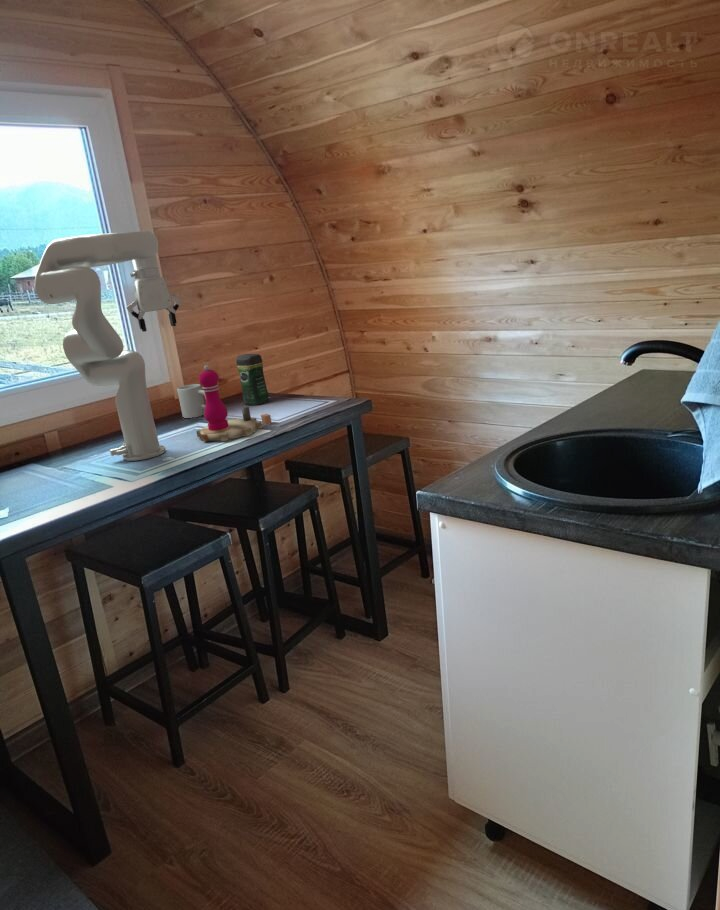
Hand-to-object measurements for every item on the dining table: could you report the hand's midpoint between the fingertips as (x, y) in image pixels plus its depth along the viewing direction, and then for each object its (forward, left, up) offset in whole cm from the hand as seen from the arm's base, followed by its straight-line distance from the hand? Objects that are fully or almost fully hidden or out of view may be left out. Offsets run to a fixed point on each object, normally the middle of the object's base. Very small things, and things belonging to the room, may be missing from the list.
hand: (159, 328), depth 231 cm
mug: (+12, +16, -34) cm, 40 cm away
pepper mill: (+6, -22, -32) cm, 39 cm away
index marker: (+22, -22, -34) cm, 46 cm away
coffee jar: (+34, +13, -34) cm, 50 cm away
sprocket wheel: (+9, -22, -34) cm, 42 cm away
